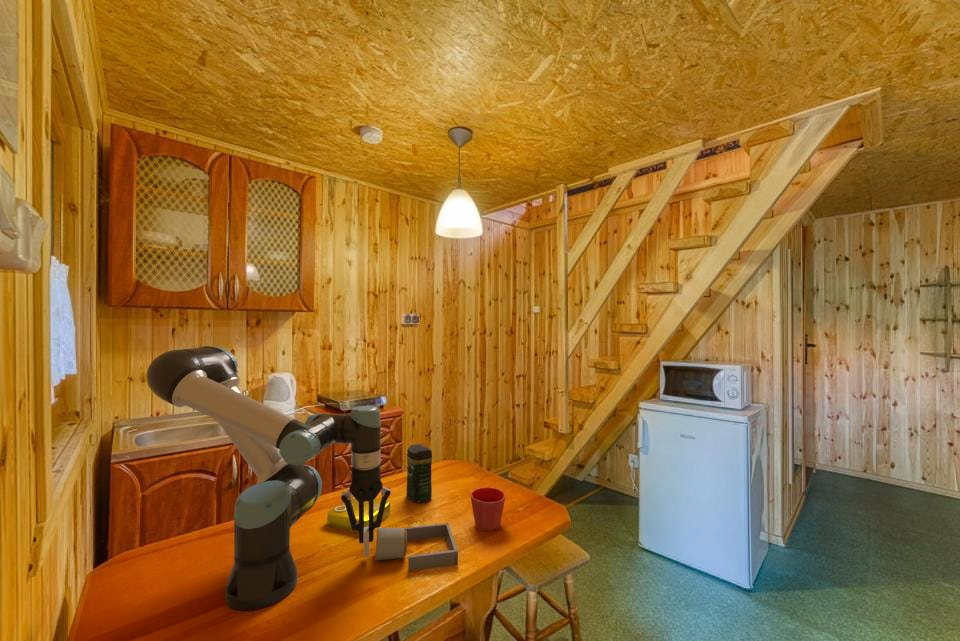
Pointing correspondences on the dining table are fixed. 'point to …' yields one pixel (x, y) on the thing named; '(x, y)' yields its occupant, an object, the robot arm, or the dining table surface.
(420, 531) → the box
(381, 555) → the ceramic mug
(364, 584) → the dining table surface
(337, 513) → the element tile
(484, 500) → the flower pot
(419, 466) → the coffee jar
